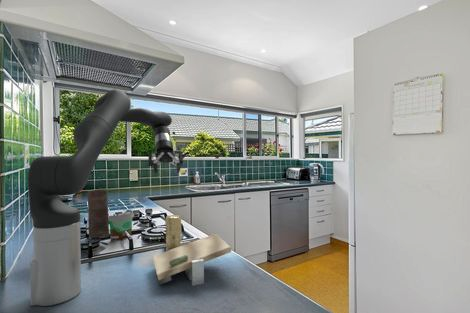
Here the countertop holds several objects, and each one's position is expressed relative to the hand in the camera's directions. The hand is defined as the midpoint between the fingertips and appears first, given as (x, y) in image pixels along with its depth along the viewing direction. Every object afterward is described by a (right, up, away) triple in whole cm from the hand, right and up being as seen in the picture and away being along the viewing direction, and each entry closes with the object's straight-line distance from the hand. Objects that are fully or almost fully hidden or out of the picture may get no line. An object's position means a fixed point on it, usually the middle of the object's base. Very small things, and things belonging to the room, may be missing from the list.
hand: (167, 172), depth 104 cm
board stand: (+15, -27, -31) cm, 44 cm away
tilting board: (+15, -23, -31) cm, 42 cm away
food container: (-18, -27, +1) cm, 32 cm away
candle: (-28, -27, +1) cm, 39 cm away
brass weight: (+6, -27, -15) cm, 31 cm away
